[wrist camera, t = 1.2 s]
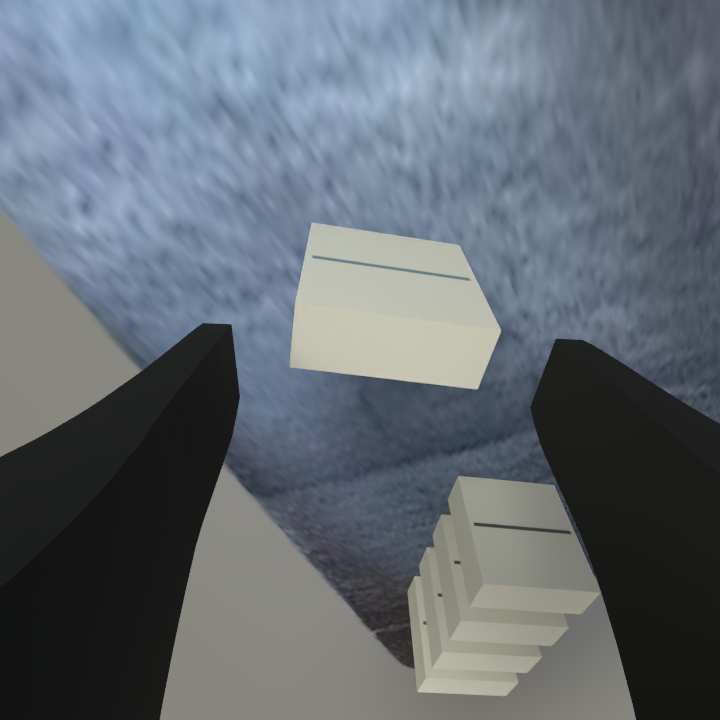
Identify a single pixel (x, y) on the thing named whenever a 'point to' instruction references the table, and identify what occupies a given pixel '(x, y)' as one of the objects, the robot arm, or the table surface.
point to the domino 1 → (391, 309)
